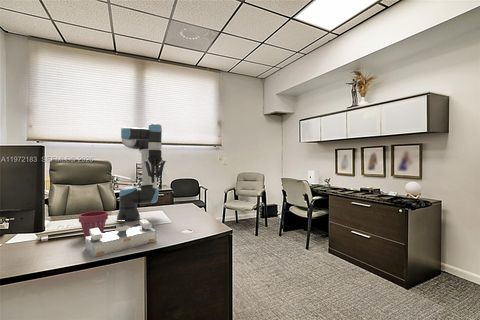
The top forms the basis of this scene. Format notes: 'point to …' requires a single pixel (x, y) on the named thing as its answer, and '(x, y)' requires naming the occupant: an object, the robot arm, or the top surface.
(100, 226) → the plant pot
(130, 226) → the keypad
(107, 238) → the console
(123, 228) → the rocker
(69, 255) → the top surface
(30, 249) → the top surface
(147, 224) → the rocker
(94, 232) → the rocker
